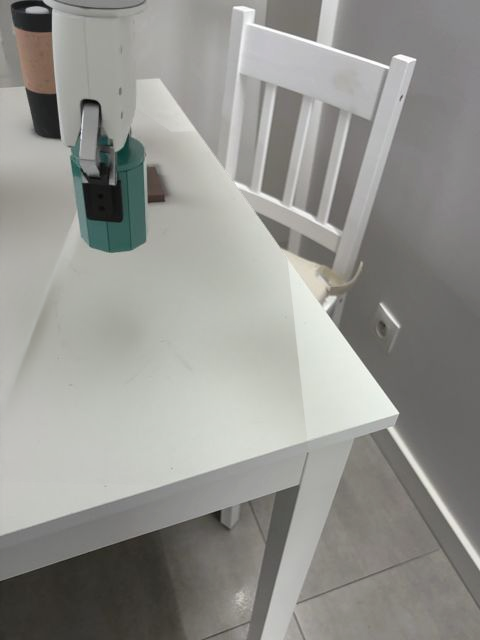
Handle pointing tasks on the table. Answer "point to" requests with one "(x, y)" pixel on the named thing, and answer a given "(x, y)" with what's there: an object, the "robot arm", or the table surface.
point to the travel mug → (37, 63)
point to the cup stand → (154, 186)
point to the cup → (133, 198)
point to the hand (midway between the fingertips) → (112, 196)
